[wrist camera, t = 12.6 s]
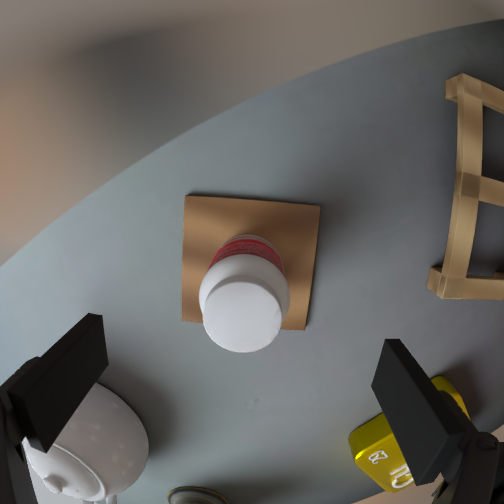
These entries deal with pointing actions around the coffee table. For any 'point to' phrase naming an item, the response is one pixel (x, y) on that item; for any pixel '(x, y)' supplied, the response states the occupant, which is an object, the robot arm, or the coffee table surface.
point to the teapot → (94, 450)
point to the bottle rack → (468, 194)
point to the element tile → (388, 447)
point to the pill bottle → (244, 294)
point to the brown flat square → (249, 223)
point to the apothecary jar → (195, 496)
